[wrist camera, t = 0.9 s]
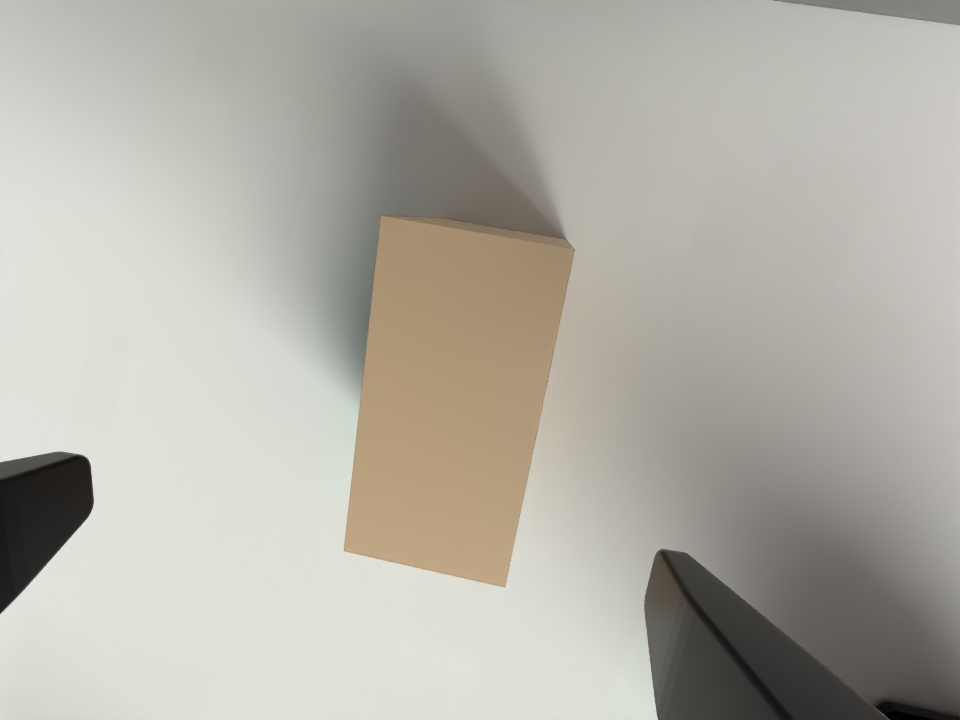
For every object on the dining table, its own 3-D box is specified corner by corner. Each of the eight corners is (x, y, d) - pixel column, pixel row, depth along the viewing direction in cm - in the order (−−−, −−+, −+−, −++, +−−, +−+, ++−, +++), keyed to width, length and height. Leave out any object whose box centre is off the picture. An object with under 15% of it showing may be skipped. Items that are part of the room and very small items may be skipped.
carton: (566, 239, 19) (574, 249, 12) (519, 471, 21) (505, 587, 15) (432, 216, 19) (368, 213, 13) (400, 446, 22) (333, 548, 15)
